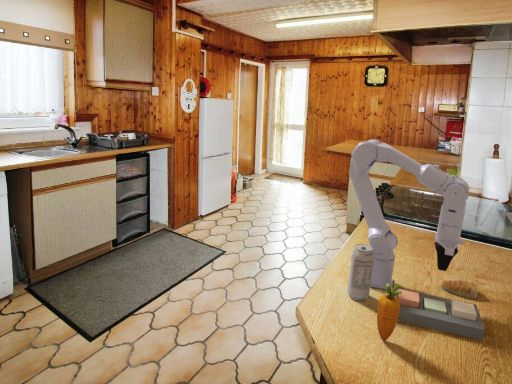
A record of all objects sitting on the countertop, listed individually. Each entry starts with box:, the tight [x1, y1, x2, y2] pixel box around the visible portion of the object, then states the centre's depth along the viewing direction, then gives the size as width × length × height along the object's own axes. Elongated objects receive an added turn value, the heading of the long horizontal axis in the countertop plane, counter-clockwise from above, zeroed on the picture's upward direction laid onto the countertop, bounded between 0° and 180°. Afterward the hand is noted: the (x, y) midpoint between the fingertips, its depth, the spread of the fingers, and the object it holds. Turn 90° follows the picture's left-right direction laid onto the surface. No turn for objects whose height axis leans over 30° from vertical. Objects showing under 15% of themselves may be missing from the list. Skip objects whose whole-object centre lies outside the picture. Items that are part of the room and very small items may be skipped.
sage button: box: [423, 298, 447, 314], centre depth 96 cm, size 5×5×3 cm
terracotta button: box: [398, 288, 420, 308], centre depth 98 cm, size 5×5×3 cm
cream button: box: [450, 299, 477, 321], centre depth 93 cm, size 5×5×3 cm
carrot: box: [376, 283, 402, 342], centre depth 84 cm, size 5×5×15 cm
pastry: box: [440, 279, 478, 300], centre depth 109 cm, size 9×7×4 cm
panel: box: [391, 286, 486, 341], centre depth 96 cm, size 21×12×3 cm, turn 69°
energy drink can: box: [346, 243, 374, 302], centre depth 103 cm, size 6×6×15 cm
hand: (441, 269), depth 102 cm, fingers closed
